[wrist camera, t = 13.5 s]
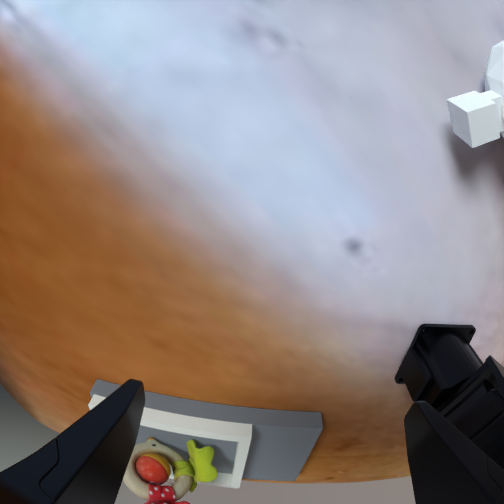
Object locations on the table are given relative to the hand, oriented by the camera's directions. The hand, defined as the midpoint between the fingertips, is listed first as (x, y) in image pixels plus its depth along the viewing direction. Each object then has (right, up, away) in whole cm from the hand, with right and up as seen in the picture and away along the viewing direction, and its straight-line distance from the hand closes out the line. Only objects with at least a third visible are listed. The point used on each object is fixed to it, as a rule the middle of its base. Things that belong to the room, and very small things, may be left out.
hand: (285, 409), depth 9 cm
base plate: (-6, -14, +20) cm, 26 cm away
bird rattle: (-9, -15, +19) cm, 26 cm away
